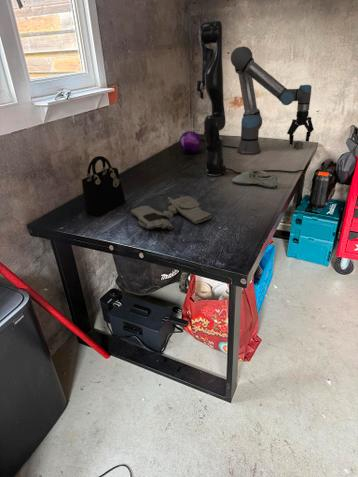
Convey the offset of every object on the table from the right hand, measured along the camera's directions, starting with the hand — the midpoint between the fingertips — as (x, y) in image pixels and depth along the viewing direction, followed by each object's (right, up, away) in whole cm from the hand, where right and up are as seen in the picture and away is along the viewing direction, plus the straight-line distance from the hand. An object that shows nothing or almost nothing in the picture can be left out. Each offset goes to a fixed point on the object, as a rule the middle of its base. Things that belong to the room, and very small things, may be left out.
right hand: (299, 143), depth 228 cm
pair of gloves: (-87, -57, -82) cm, 132 cm away
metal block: (0, -3, +2) cm, 4 cm away
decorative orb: (-75, -6, +5) cm, 76 cm away
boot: (-59, +8, +27) cm, 66 cm away
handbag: (-119, -51, -69) cm, 147 cm away
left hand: (-65, +21, -25) cm, 73 cm away
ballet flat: (-43, -38, -53) cm, 78 cm away
